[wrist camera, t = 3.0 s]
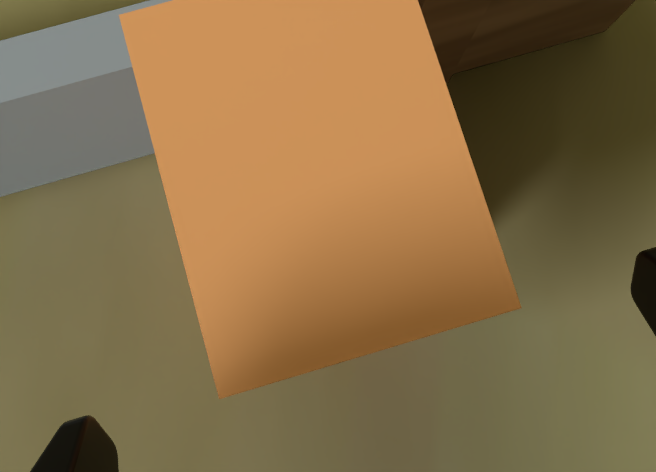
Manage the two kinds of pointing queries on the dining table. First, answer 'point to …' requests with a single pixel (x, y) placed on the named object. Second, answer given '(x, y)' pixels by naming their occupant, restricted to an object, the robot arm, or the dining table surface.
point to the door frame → (509, 27)
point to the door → (69, 102)
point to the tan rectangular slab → (313, 180)
